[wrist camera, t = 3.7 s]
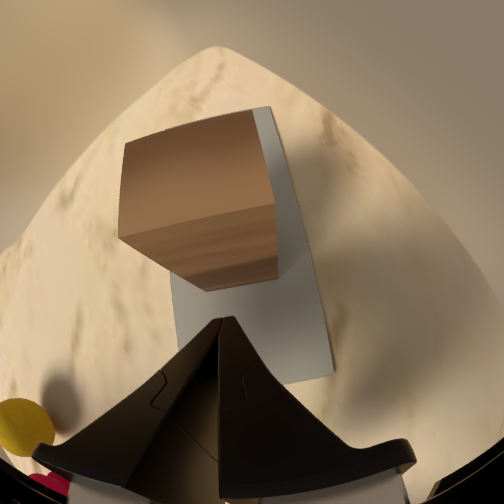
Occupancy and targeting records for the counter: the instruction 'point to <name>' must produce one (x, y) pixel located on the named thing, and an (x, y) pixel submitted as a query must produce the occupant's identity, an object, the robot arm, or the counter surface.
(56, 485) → the pepper mill
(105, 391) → the counter surface
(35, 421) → the lemon
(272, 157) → the strip
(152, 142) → the walnut block
